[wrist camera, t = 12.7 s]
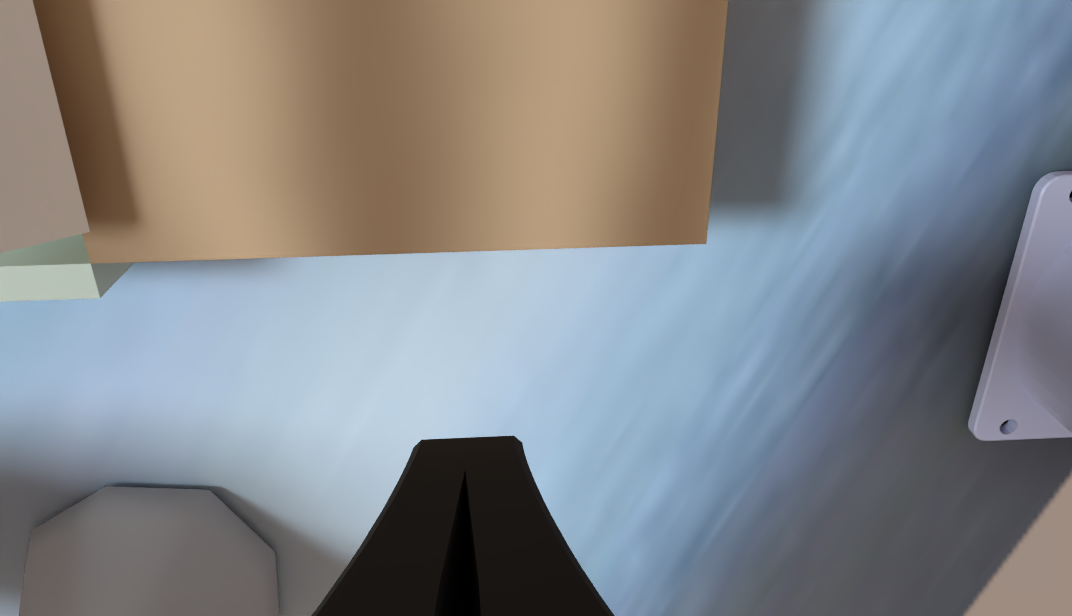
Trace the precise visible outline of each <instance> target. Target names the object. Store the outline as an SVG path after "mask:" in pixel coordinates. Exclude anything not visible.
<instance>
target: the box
mask: <svg viewBox="0 0 1072 616" xmlns="http://www.w3.org/2000/svg"><path fill="white" fill-rule="evenodd" d="M133 263H134V262H126V263H95V264H90V260H89V257H88V253H87V250H86V246H85V243H84V239H83V235H82V234H79V235H75V236H71V237H66V238H62V239H58V240H54V241H49V242H45V243H41V244H37V245H33V246H28V247H24V248H20V249H16V250H11V251H7V252H3V253H0V302H1V301H30V300H59V299H88V298H101V297H102V296H103V295H104V294H105V293H106V291H107V290H108V289H109V288H110V287H111V286H112V285H113V284H114V283H115V282H116V281H117V280H118V279H119V278H120V277H121V276H122V275H123V274H124V273H125V272H126V271H127V270H128V269H129V268H130V266H131V265H132V264H133Z"/></svg>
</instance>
